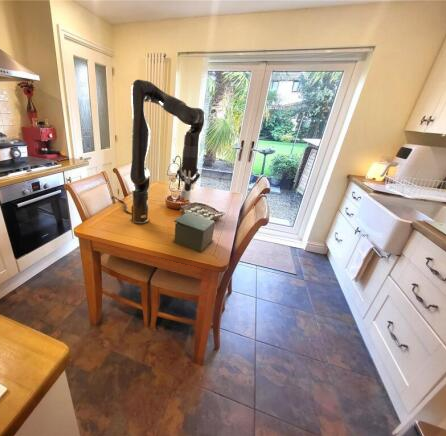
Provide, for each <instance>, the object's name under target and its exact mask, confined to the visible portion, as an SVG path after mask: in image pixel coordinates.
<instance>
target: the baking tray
mask: <svg viewBox="0 0 446 436" xmlns="http://www.w3.org/2000/svg"><path fill="white" fill-rule="evenodd" d="M180 208H181V209H180V210H179V212H181V213H183V214H185V213H186V212H189V213H192V214H195V215H198V216H201V217H203V218H206V219H209V220H212V221H217V220H219V219H220V218H223V216H224V215H226V214H227V213H226V212H225V211H219V210H217V209H216V208H215V207H212V206H211V205H208V204H207V203H202V202H198V201H197V202H196V201H195V202H191V203H189V204H188V205H185V206H182V205H180Z"/></svg>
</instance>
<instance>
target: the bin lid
mask: <svg viewBox="0 0 446 436" xmlns="http://www.w3.org/2000/svg"><path fill="white" fill-rule="evenodd" d="M173 222H175V224H176V223H179V224H182V225H184V226H187V227H190V228H192V229H195V230H198V231H201V232H205V231H206V230H207V229H208V228H209V227H210V226H211V225H213V224H214V223H215V224H216V220H214V221H212V220H209V219H206V218H203V217H201V216H198V215H195V214H192V213H189V212H186V213H183V214H181V215H180V216H178V217H177V218H175V219H174V220H173ZM215 224H214V225H215Z"/></svg>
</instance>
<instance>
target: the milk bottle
mask: <svg viewBox="0 0 446 436" xmlns="http://www.w3.org/2000/svg"><path fill="white" fill-rule="evenodd" d="M179 195H180V197H179V200H180V199H181V200H189V201H190V203H192V188H191V190H190V191H185V182H182V185H181V188H180V194H179Z"/></svg>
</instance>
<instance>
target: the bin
mask: <svg viewBox="0 0 446 436" xmlns="http://www.w3.org/2000/svg"><path fill="white" fill-rule="evenodd" d="M215 224H216V222H215V223H214V224H213V225H211V226H210V227H209V228H208V229H207V230H206V231H205V232H201V231H198V230H195V229H192V228H190V227H187V226H184V225H182V224H179V223H176V222H175V226H174V240H173V242H174V243H176V244H179V245H180V246H181V245H182V246H184V247H187V248H189V249H192V250H195V251H198V252H200V253H202V252H203V250H205V249H206V248H207V247H208V245H210V243H212V242H213V237H214V231H215Z"/></svg>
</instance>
